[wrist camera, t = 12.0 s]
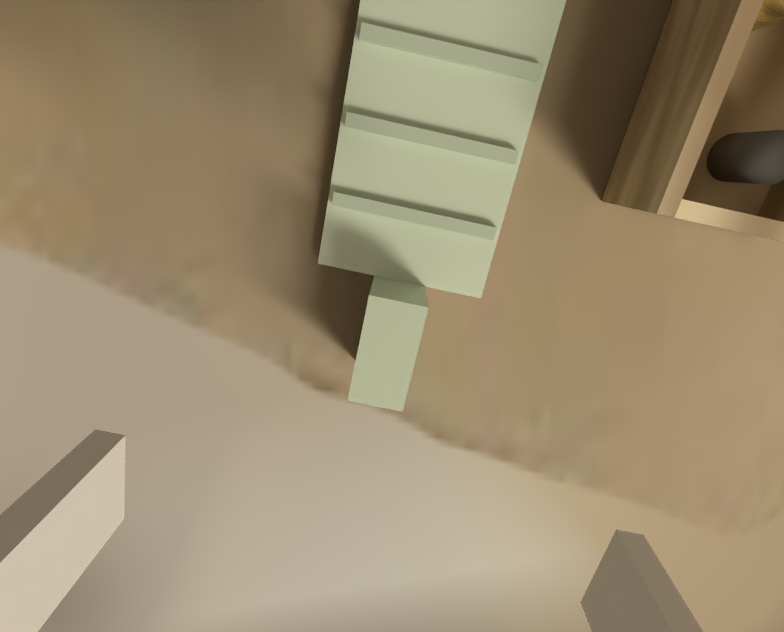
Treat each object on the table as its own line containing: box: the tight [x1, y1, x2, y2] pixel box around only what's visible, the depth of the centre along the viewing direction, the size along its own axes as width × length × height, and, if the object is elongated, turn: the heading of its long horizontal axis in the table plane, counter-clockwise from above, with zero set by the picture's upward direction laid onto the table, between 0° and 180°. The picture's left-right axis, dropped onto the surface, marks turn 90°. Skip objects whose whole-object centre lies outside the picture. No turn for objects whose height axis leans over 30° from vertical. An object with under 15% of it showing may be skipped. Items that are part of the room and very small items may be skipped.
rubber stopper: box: [707, 130, 784, 185], centre depth 23 cm, size 2×2×3 cm
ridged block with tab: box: [318, 0, 566, 411], centre depth 23 cm, size 10×22×5 cm, turn 168°
